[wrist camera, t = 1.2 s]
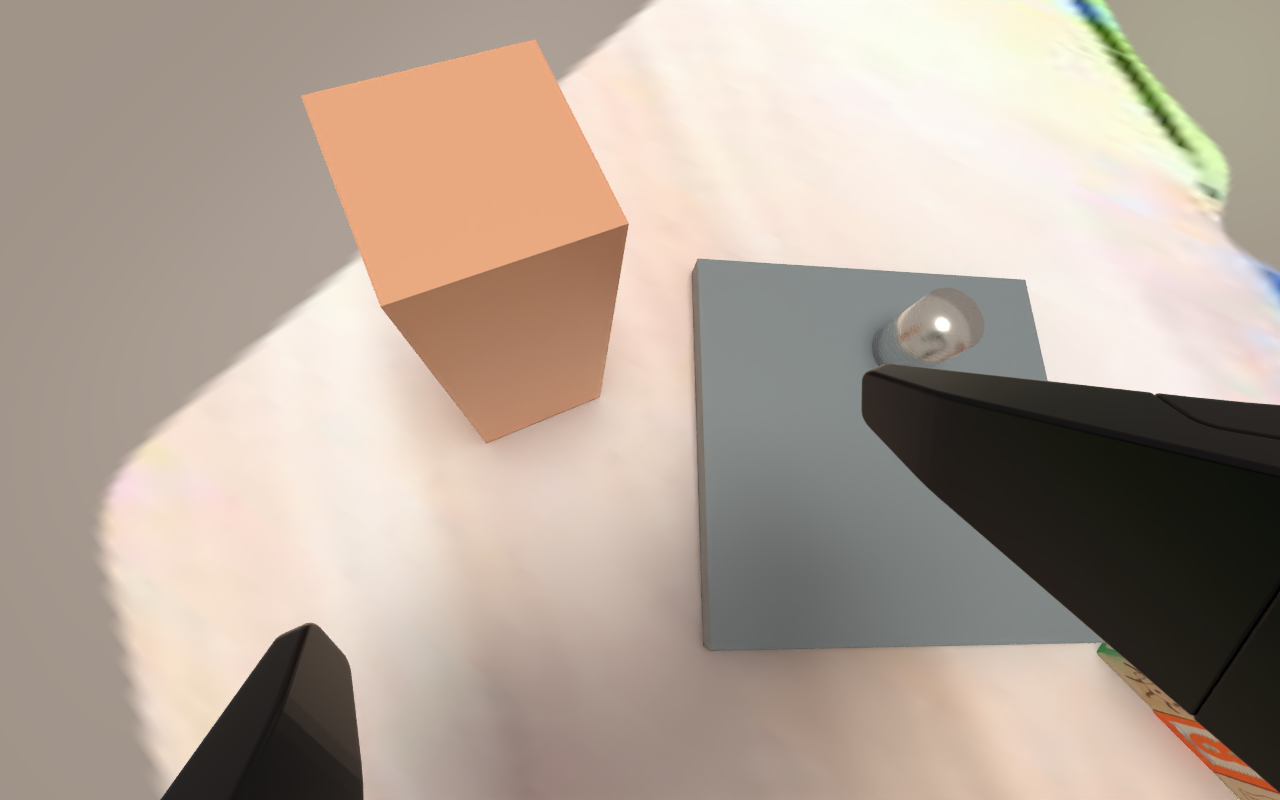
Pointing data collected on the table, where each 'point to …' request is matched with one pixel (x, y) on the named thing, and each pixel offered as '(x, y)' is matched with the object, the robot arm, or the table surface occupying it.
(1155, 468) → the robot arm
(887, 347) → the steel post
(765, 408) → the slate board
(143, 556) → the table surface
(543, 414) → the tall peach square pillar
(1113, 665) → the stack of blocks
